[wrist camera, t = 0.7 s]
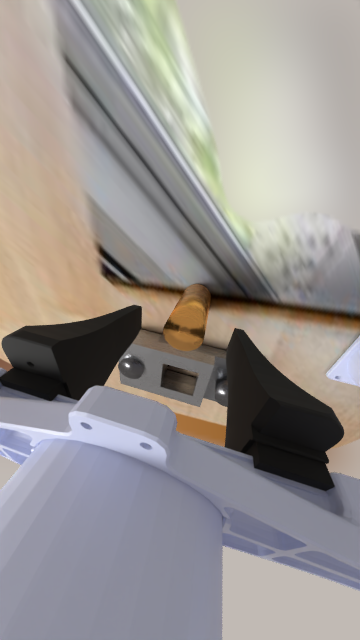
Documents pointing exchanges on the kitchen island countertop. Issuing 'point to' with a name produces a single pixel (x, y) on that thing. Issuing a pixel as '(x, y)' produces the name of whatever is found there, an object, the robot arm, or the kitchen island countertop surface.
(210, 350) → the gray slab
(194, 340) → the pin
